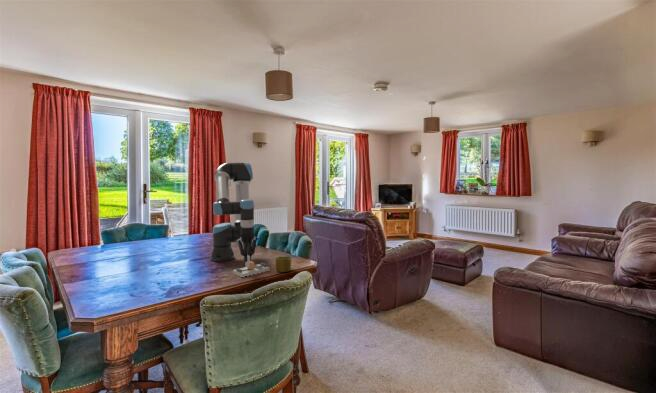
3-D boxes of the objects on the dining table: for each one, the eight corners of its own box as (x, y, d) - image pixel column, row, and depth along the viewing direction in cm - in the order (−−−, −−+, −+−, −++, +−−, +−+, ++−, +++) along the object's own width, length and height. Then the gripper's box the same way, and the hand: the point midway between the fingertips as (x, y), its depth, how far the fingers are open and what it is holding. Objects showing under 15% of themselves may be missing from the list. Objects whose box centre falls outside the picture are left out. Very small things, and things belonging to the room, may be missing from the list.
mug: (290, 271, 184) (286, 254, 186) (274, 275, 186) (270, 258, 188) (298, 269, 196) (294, 253, 197) (282, 273, 198) (279, 257, 200)
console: (233, 273, 185) (233, 267, 185) (260, 267, 197) (260, 261, 197) (241, 277, 178) (241, 271, 178) (269, 270, 190) (269, 265, 190)
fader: (247, 267, 188) (246, 261, 188) (250, 266, 190) (250, 260, 189) (250, 269, 185) (250, 263, 184) (254, 268, 186) (254, 262, 186)
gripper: (240, 228, 176) (240, 270, 179) (260, 226, 185) (261, 266, 187) (233, 227, 182) (234, 267, 184) (254, 224, 191) (254, 263, 193)
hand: (247, 266), depth 186 cm, fingers closed
